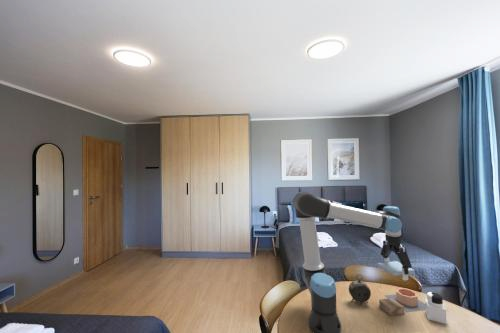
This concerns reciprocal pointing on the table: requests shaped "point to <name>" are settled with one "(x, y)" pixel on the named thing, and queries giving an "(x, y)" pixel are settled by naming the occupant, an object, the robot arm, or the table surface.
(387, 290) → the table surface
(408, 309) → the placemat
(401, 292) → the bowl
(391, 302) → the cork riser
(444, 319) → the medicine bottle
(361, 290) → the alarm clock
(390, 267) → the cover board
